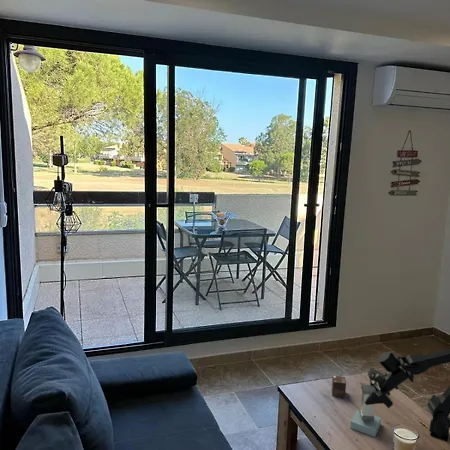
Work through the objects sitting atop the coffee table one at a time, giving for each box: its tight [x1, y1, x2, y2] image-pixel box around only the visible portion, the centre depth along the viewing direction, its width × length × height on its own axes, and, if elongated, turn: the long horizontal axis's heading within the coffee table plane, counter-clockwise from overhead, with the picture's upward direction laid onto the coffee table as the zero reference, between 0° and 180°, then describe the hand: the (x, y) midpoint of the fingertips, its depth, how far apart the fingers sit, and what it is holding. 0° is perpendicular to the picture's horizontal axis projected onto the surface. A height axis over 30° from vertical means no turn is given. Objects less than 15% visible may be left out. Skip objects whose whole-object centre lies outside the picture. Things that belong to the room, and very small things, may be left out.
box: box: [331, 375, 347, 398], centre depth 196 cm, size 6×6×7 cm
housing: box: [358, 383, 376, 421], centre depth 171 cm, size 5×5×13 cm
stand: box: [350, 409, 382, 438], centre depth 172 cm, size 10×10×3 cm
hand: (364, 400), depth 171 cm, fingers closed on housing, 4 cm apart
